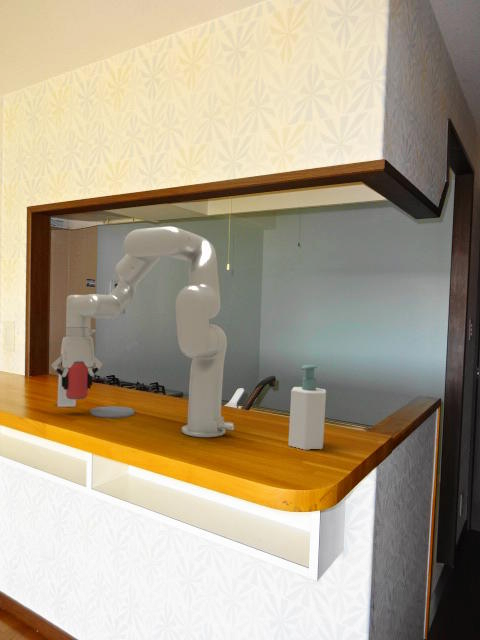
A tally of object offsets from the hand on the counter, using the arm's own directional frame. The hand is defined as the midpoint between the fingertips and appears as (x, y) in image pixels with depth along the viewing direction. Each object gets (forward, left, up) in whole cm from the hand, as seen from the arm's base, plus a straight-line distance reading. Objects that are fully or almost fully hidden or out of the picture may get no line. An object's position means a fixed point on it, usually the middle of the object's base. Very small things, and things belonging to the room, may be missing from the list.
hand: (77, 388), depth 160 cm
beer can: (0, 0, -3) cm, 3 cm away
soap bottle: (-75, +3, -9) cm, 76 cm away
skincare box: (+11, -10, -9) cm, 17 cm away
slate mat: (-9, -7, -8) cm, 14 cm away
